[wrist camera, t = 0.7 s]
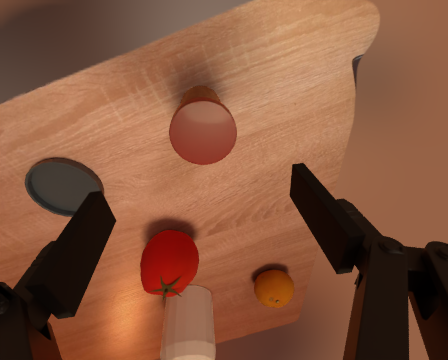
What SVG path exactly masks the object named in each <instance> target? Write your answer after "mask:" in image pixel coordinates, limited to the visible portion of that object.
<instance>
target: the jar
mask: <svg viewBox="0 0 448 360" xmlns="http://www.w3.org/2000/svg"><path fill="white" fill-rule="evenodd" d="M197 97H208V98H212V99H215V100H217V101H219V102H221V101H220V99H219V97H218V95H217V94H216V93H215V91H213V90H212V89H211V88H209V87H206V86H195V87H192V88H190V89H188V90H187V91H186V92H185V93H184V95H183V97H182V99H181V103H180V105H181V104H183V103H184V102H186V101H187V100H190V99H192V98H197Z"/></svg>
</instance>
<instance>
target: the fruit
mask: <svg viewBox="0 0 448 360" xmlns="http://www.w3.org/2000/svg"><path fill="white" fill-rule="evenodd" d="M254 291H255V294H256V297H257V299H258V300H259V301H260V302H261V303H262V304H263V305H265V306H268V307H275V308H278V307H282V306H284V305H285V304H287V303H288V302H289V301H290V299H291V298H292V296H293V293H294V283H293V281H292V279H291V277H290V276H289V275H288V274H286V273H285V272H283V271H280V270H268V271H265V272H262V273H261V274H259V275H258V277H257V278H256V281H255V285H254Z"/></svg>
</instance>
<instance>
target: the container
mask: <svg viewBox="0 0 448 360" xmlns="http://www.w3.org/2000/svg"><path fill="white" fill-rule="evenodd" d="M179 295H181V296H182V297H180V296H179ZM179 295H175V296H173V297H166V306H165V316H164V325H163V334H162V343H161V352H160V357H161V360H215V351H216V349H215V336H214V321H213V306H212V295H211V293H210V291H209V290H207V289H206V288H205V287H201V286H197V285H187V287H186V288H185V289H184V291H183V292H182V293H179Z"/></svg>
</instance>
